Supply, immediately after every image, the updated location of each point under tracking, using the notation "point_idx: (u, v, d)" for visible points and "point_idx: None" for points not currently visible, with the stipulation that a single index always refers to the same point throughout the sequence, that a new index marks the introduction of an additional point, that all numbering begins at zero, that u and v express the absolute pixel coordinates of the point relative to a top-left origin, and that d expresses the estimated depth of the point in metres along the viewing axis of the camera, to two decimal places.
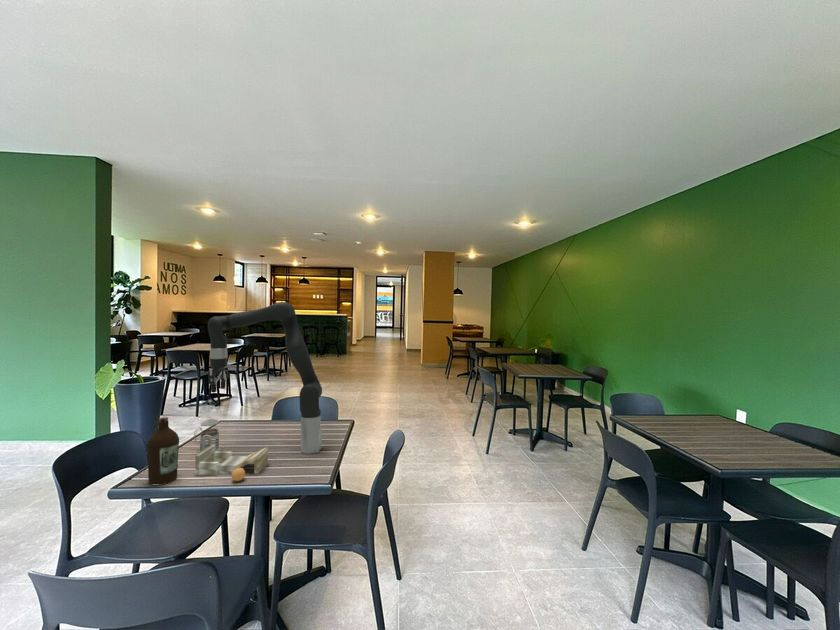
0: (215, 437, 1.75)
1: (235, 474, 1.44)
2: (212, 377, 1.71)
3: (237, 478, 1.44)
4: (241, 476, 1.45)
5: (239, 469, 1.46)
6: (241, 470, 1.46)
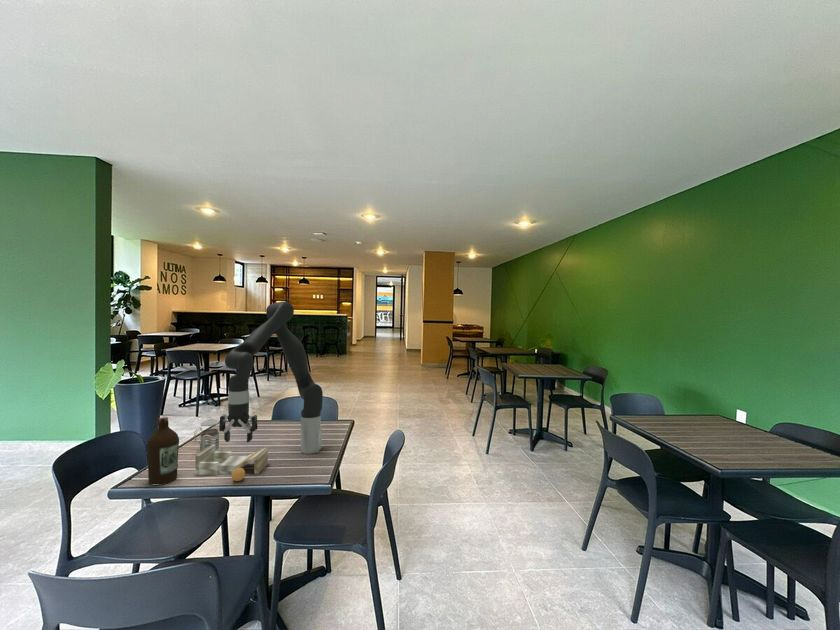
0: (215, 437, 1.75)
1: (235, 474, 1.44)
2: (256, 422, 1.47)
3: (237, 478, 1.44)
4: (241, 476, 1.45)
5: (239, 469, 1.46)
6: (241, 470, 1.46)
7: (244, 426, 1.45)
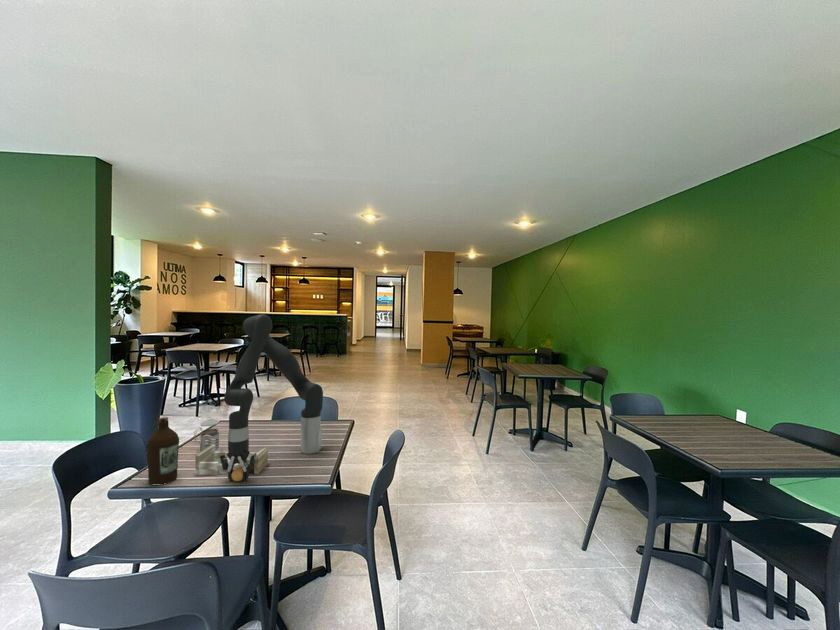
0: (215, 437, 1.75)
1: (235, 474, 1.44)
2: (254, 461, 1.48)
3: (237, 478, 1.44)
4: (241, 476, 1.45)
5: (239, 469, 1.46)
6: (241, 470, 1.46)
7: (242, 464, 1.45)
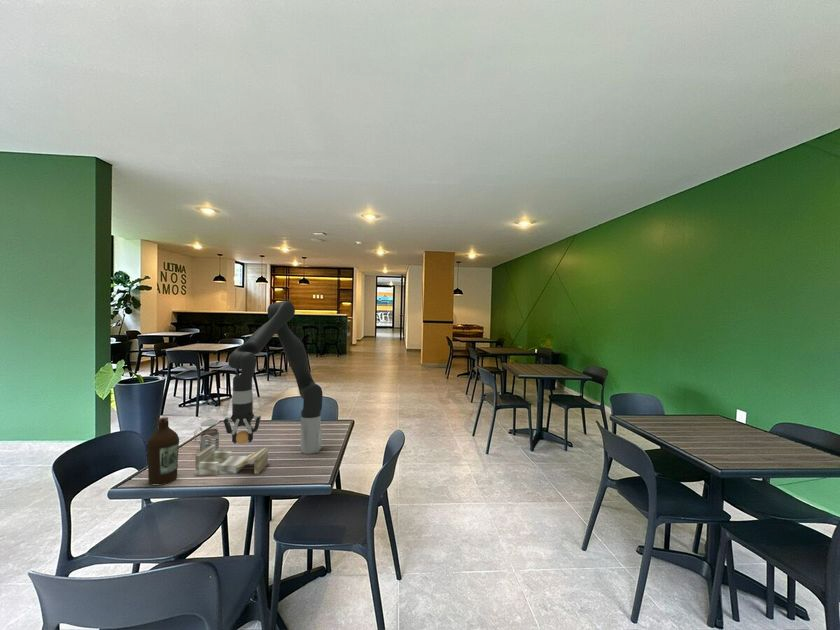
0: (215, 437, 1.75)
1: (241, 436, 1.46)
2: None
3: (243, 440, 1.46)
4: (246, 438, 1.47)
5: (244, 432, 1.47)
6: (246, 432, 1.48)
7: (247, 426, 1.47)
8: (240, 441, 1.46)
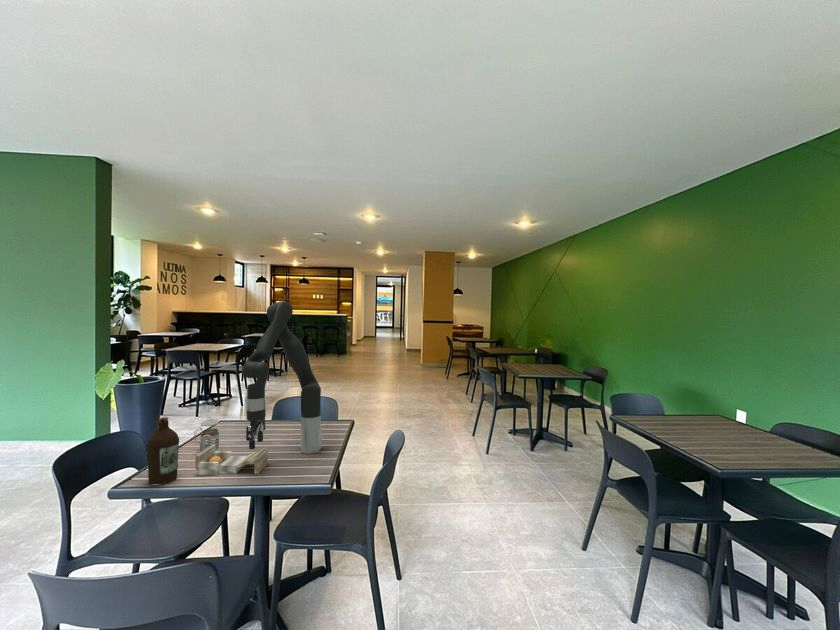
0: (215, 437, 1.75)
1: None
2: None
3: None
4: None
5: None
6: None
7: (262, 427, 1.60)
8: (211, 458, 1.57)
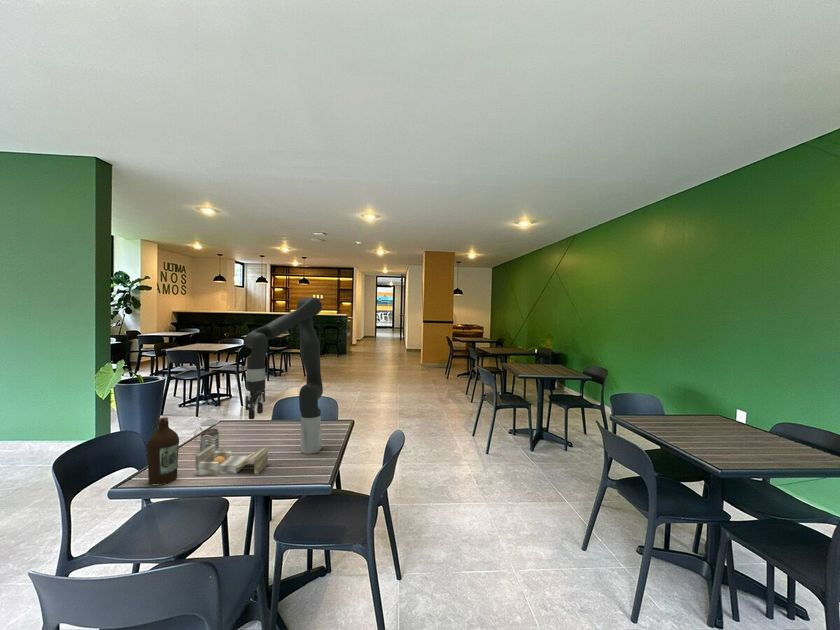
0: (215, 437, 1.75)
1: None
2: None
3: (218, 456, 1.58)
4: None
5: None
6: None
7: (262, 399, 1.60)
8: (218, 457, 1.57)
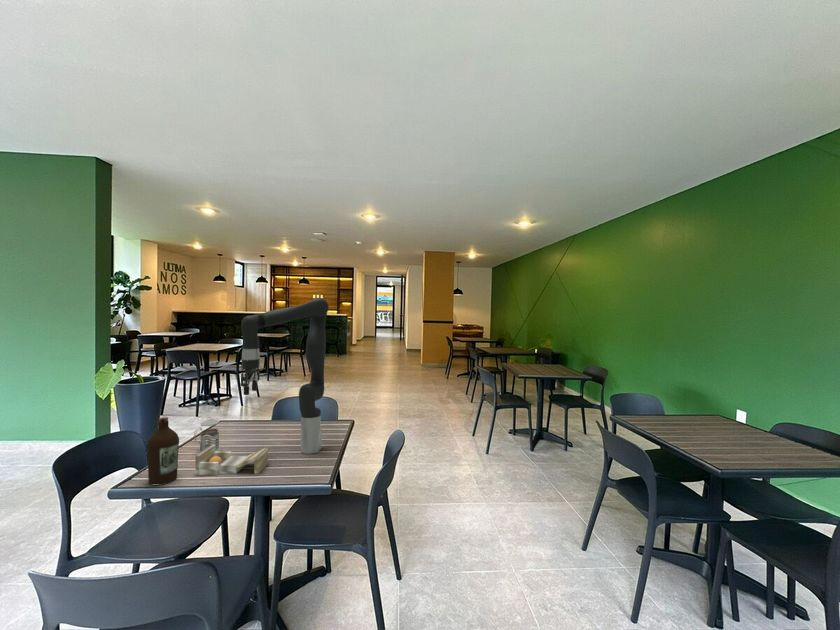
0: (215, 437, 1.75)
1: None
2: None
3: None
4: None
5: None
6: None
7: (257, 377, 1.73)
8: (211, 458, 1.57)
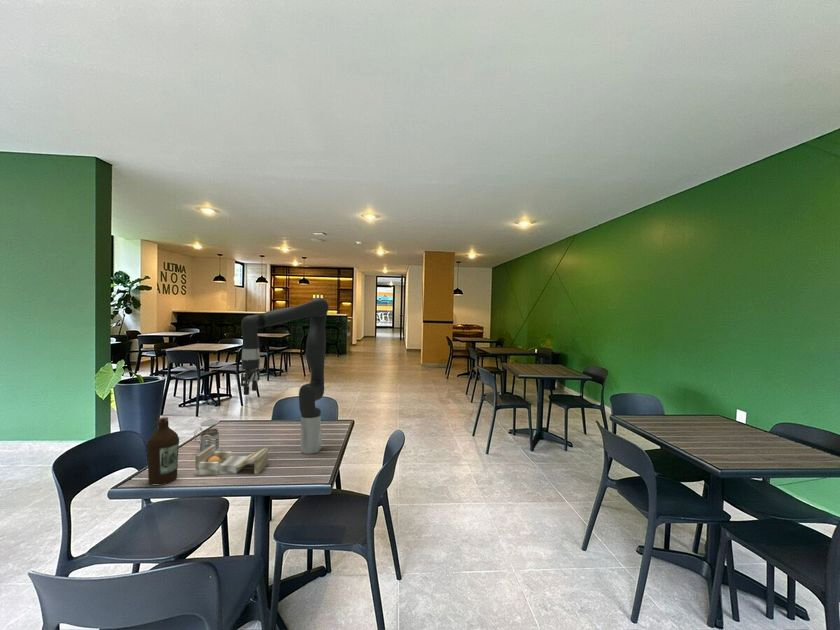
0: (215, 437, 1.75)
1: None
2: None
3: None
4: None
5: None
6: None
7: (257, 377, 1.73)
8: None
